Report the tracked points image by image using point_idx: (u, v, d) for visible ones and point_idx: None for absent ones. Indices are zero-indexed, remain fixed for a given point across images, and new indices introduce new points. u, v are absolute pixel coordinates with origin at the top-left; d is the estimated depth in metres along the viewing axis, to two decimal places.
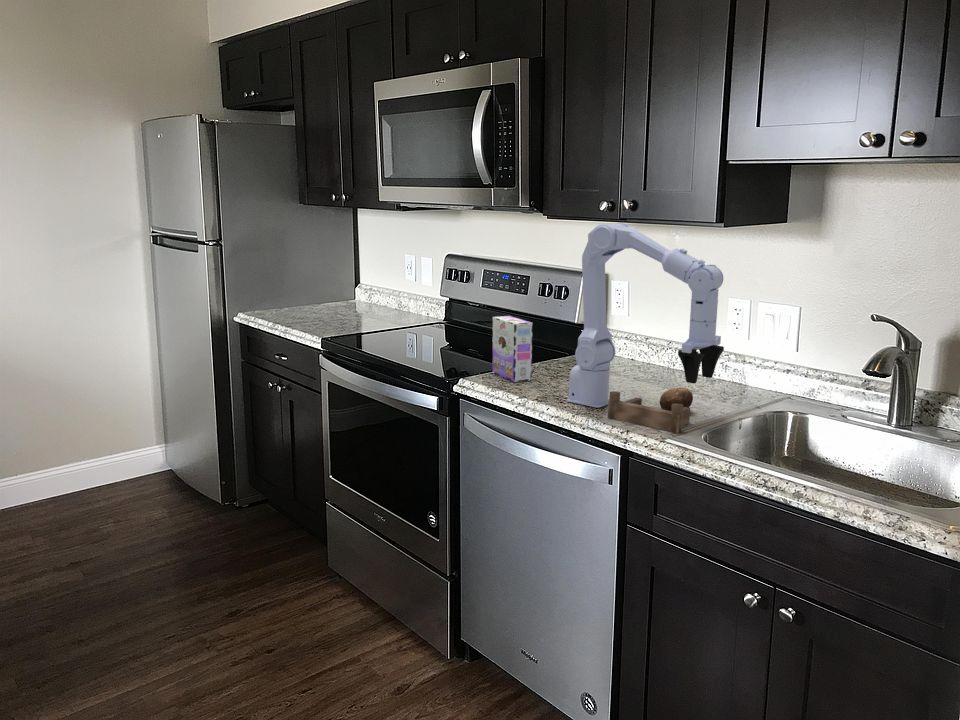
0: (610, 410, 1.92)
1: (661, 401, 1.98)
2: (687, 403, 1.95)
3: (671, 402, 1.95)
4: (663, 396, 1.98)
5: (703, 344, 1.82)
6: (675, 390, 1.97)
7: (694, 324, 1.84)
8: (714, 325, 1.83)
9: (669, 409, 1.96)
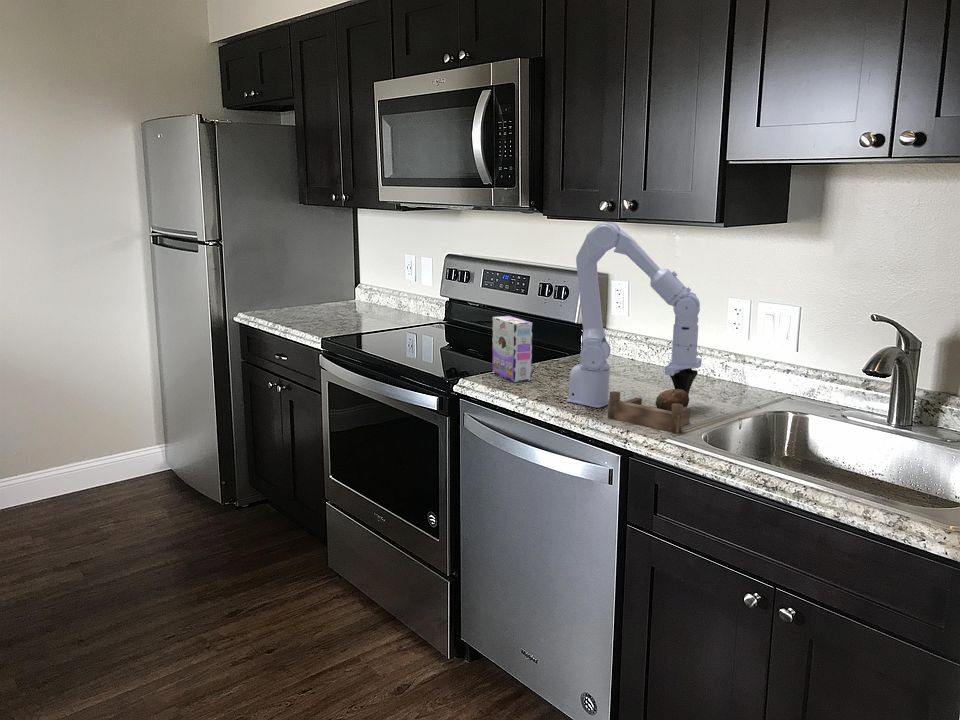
0: (610, 410, 1.92)
1: (657, 402, 1.97)
2: (683, 404, 1.93)
3: (667, 403, 1.94)
4: (659, 397, 1.97)
5: (684, 366, 1.95)
6: (671, 391, 1.96)
7: (676, 348, 1.96)
8: (695, 349, 1.96)
9: None
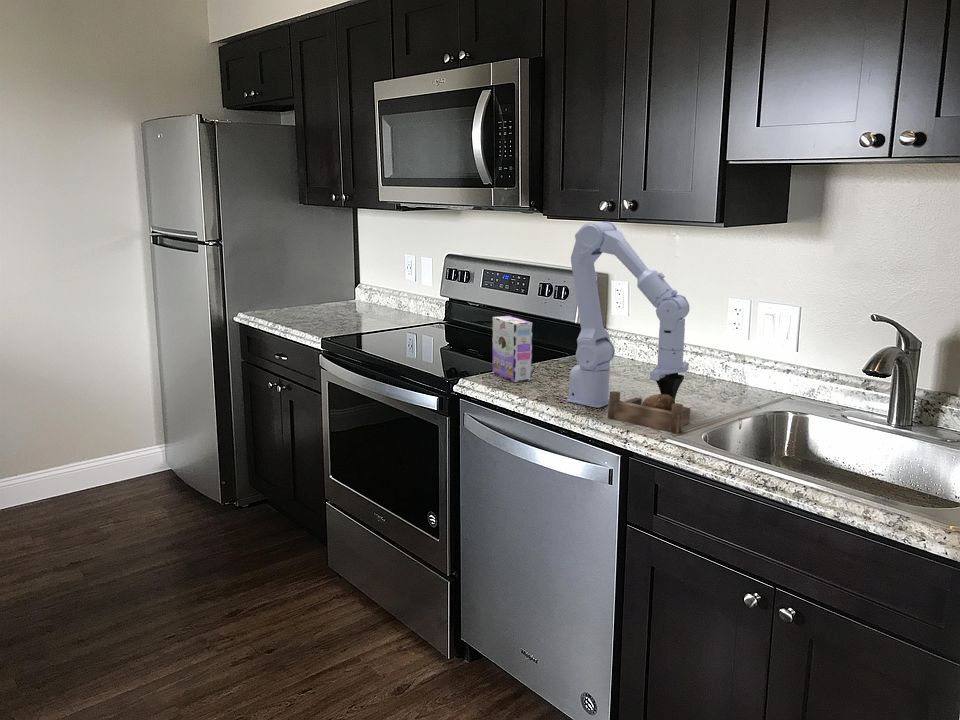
0: (610, 410, 1.92)
1: None
2: (669, 410, 1.88)
3: None
4: (645, 403, 1.92)
5: (670, 371, 1.90)
6: (656, 396, 1.91)
7: (662, 352, 1.91)
8: (681, 353, 1.91)
9: None
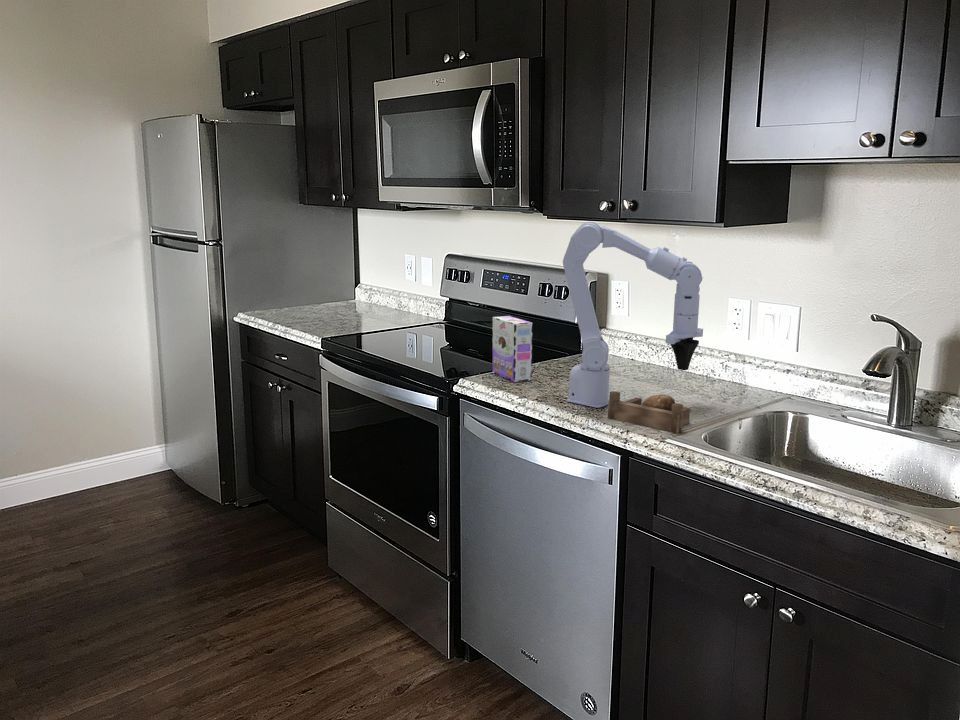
0: (610, 410, 1.92)
1: None
2: None
3: None
4: (645, 403, 1.92)
5: (685, 335, 1.95)
6: (656, 396, 1.91)
7: (677, 317, 1.97)
8: (696, 318, 1.96)
9: None
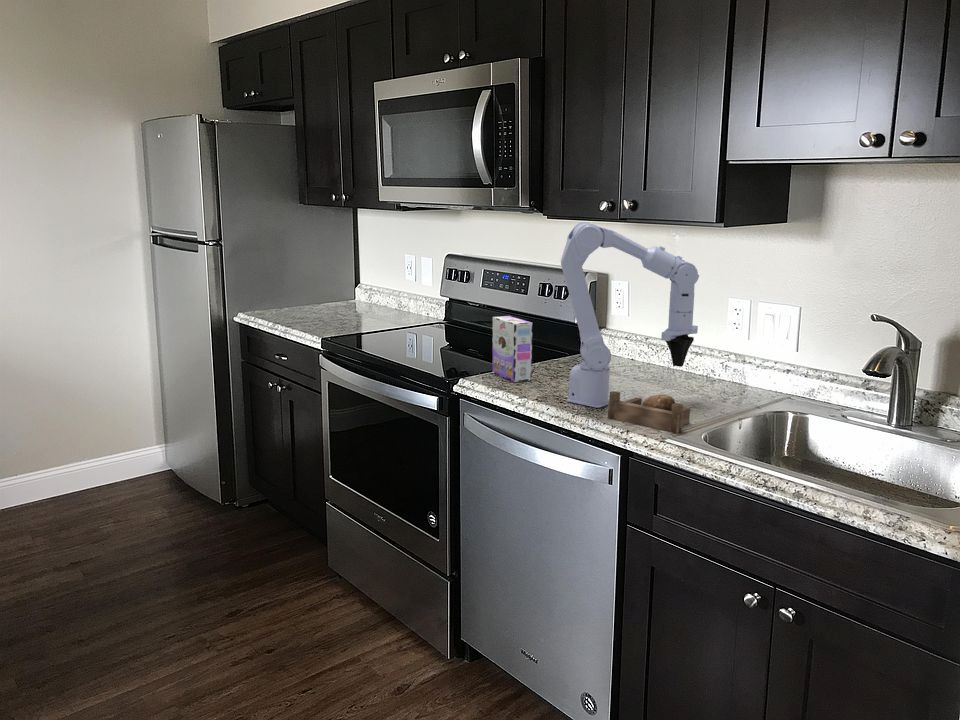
0: (610, 410, 1.92)
1: None
2: None
3: None
4: (645, 403, 1.92)
5: (681, 332, 1.99)
6: (656, 397, 1.91)
7: (673, 314, 2.01)
8: (691, 315, 2.00)
9: None
